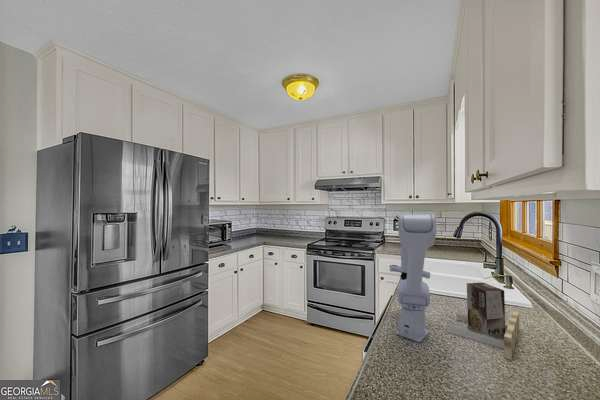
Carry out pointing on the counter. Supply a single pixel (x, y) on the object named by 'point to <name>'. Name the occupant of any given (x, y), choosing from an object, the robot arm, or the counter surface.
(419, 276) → the robot arm
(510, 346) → the back plate
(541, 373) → the counter surface
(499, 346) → the rails
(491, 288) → the coffee box
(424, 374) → the counter surface
